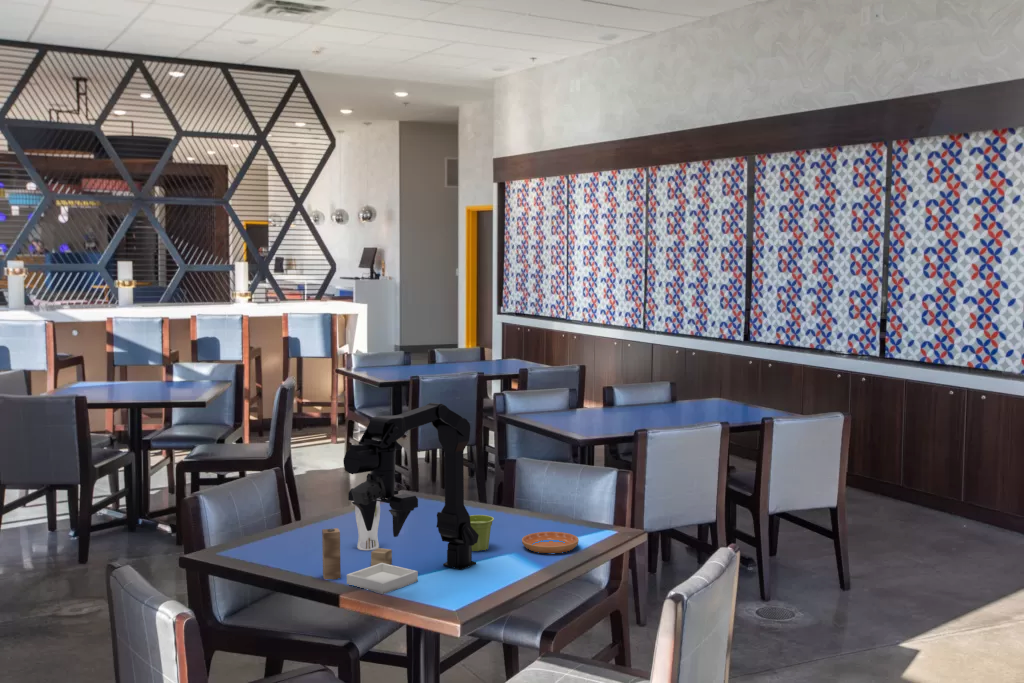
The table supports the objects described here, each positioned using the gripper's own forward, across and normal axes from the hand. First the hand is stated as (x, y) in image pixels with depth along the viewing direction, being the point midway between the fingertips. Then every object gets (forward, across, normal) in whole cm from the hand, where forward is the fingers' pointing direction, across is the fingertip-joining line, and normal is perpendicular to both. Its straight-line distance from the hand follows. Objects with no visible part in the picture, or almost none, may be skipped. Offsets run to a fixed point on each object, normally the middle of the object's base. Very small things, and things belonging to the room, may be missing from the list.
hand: (382, 533), depth 230 cm
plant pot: (+13, -7, +43) cm, 46 cm away
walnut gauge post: (+14, -19, +1) cm, 24 cm away
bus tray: (+14, -5, +5) cm, 16 cm away
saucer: (+13, +9, +57) cm, 59 cm away
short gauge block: (+14, -17, +16) cm, 27 cm away
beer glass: (+14, -32, +25) cm, 43 cm away
